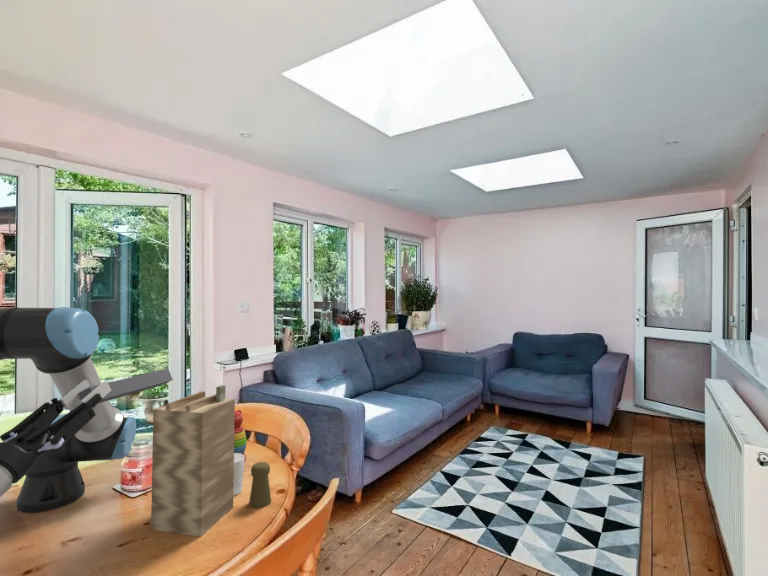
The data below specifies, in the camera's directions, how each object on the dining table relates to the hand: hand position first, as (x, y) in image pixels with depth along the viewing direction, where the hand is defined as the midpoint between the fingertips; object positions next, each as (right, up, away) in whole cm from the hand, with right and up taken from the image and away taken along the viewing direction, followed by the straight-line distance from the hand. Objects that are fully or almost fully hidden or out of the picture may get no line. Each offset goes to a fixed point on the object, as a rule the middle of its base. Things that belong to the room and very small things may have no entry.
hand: (97, 385), depth 93 cm
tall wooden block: (+16, -38, +14) cm, 44 cm away
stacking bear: (+12, -39, +50) cm, 65 cm away
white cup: (+20, -39, +28) cm, 52 cm away
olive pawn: (+31, -39, +22) cm, 54 cm away
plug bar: (+3, -4, +9) cm, 10 cm away
